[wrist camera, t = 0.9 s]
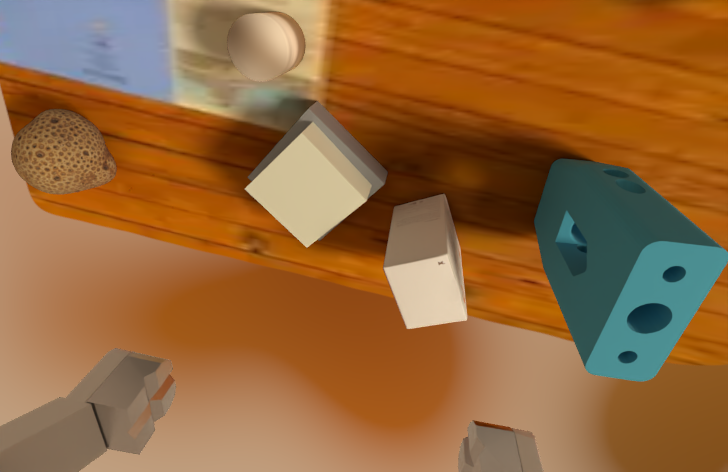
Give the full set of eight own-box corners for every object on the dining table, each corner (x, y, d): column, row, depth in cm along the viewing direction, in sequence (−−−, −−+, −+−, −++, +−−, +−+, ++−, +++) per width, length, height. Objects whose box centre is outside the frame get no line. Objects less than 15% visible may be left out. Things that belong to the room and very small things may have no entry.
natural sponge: (56, 92, 47) (-27, 112, 38) (129, 112, 47) (61, 137, 38) (68, 162, 52) (-4, 194, 43) (134, 181, 52) (75, 217, 43)
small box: (393, 205, 48) (381, 266, 37) (445, 192, 46) (449, 252, 35) (411, 260, 51) (406, 331, 40) (461, 249, 50) (469, 321, 38)
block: (558, 141, 41) (647, 239, 24) (609, 146, 41) (735, 249, 24) (527, 239, 48) (581, 372, 30) (571, 245, 47) (650, 383, 30)
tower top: (312, 121, 41) (301, 132, 37) (371, 185, 43) (366, 200, 40) (259, 174, 44) (244, 188, 41) (315, 229, 47) (306, 247, 44)
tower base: (318, 99, 43) (308, 108, 40) (388, 170, 46) (384, 183, 43) (260, 165, 48) (247, 177, 45) (326, 225, 51) (319, 241, 48)
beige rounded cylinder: (274, -2, 39) (249, -3, 34) (316, 42, 40) (299, 48, 35) (242, 43, 41) (216, 49, 36) (283, 83, 43) (263, 94, 37)
